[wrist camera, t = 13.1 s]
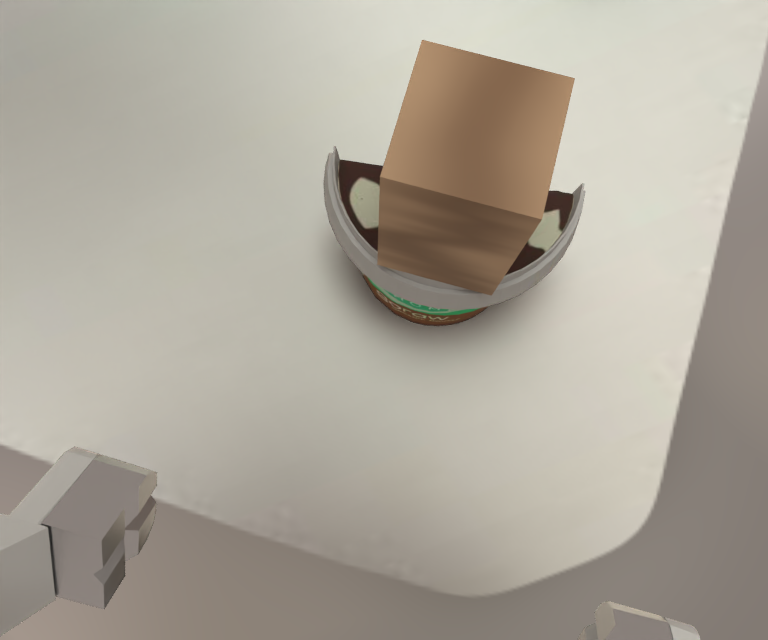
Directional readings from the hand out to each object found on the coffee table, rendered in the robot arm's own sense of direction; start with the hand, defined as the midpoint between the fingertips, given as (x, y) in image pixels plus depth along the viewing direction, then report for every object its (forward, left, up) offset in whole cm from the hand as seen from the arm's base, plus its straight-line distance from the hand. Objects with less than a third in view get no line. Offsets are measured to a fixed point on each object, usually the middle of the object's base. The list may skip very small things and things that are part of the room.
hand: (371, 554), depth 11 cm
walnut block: (0, +12, -13) cm, 18 cm away
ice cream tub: (0, +12, -24) cm, 27 cm away
